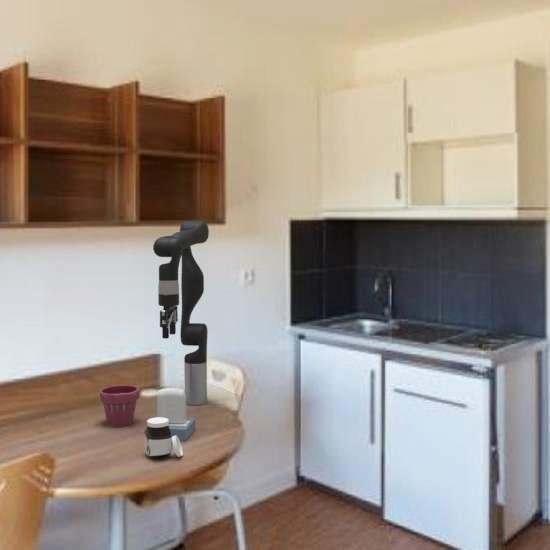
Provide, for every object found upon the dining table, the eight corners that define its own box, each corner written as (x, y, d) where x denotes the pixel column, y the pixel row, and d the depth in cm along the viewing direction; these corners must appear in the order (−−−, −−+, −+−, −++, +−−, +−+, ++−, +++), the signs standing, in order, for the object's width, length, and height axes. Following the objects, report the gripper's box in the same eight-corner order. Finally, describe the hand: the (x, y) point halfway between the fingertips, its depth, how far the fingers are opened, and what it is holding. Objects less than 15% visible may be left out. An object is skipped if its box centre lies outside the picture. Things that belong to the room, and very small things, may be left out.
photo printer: (156, 424, 233) (155, 389, 232) (158, 420, 237) (158, 386, 236) (185, 424, 232) (184, 389, 231) (187, 420, 237) (187, 386, 236)
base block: (158, 427, 242) (158, 416, 242) (195, 429, 240) (195, 418, 240) (146, 439, 229) (146, 427, 229) (185, 441, 227) (185, 429, 227)
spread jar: (141, 452, 216) (141, 417, 215) (174, 447, 221) (174, 413, 221) (154, 464, 206) (153, 428, 205) (188, 458, 211) (187, 422, 210)
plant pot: (92, 425, 245) (91, 391, 244) (117, 415, 257) (117, 382, 256) (122, 430, 238) (122, 395, 237) (147, 420, 251) (146, 387, 250)
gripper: (164, 290, 250) (165, 332, 251) (152, 294, 236) (153, 339, 237) (184, 290, 249) (184, 333, 250) (173, 294, 235) (173, 340, 236)
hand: (169, 336), depth 243 cm, fingers open, 8 cm apart
